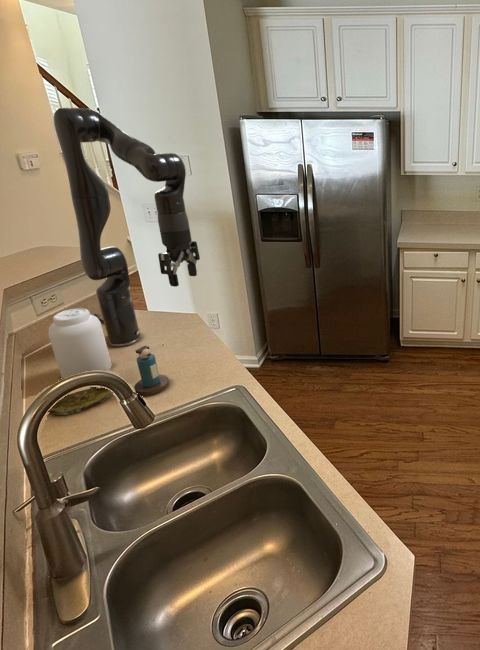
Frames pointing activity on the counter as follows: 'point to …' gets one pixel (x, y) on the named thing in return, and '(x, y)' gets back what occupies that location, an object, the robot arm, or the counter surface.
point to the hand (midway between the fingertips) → (184, 280)
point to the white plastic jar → (78, 342)
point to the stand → (154, 389)
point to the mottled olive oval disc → (80, 401)
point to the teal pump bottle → (147, 367)
